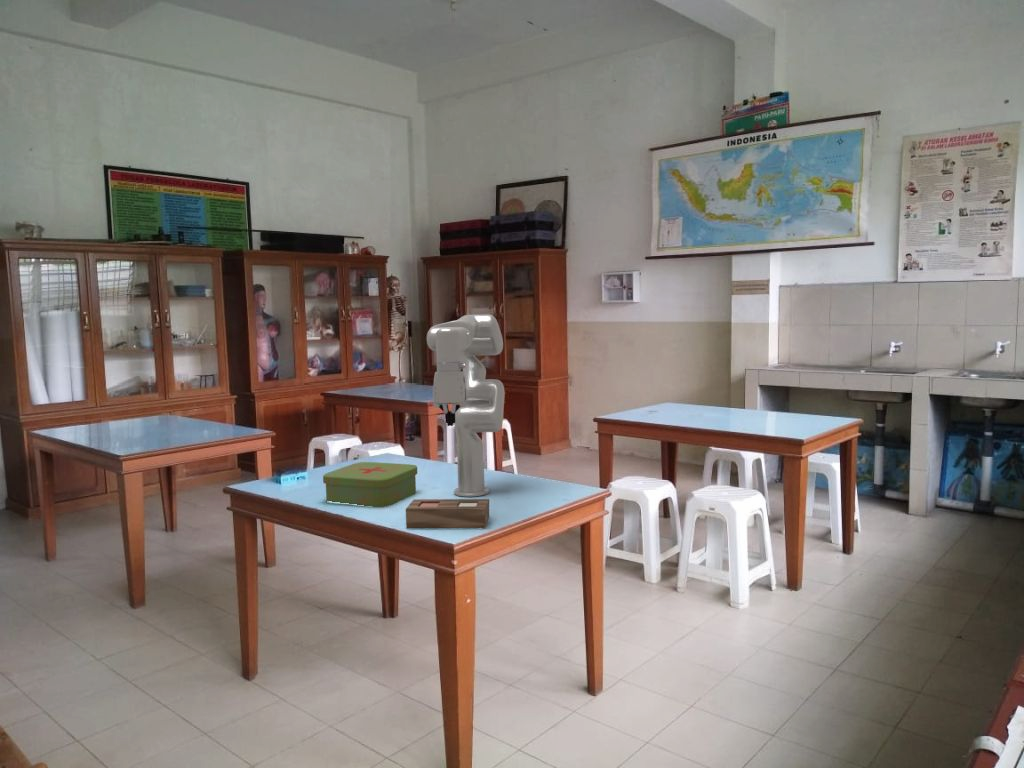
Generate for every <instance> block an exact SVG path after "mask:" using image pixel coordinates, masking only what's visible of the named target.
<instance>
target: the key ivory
mask: <svg viewBox="0 0 1024 768" xmlns="http://www.w3.org/2000/svg"><path fill="white" fill-rule="evenodd" d="M459 506H477V503H460V504H459Z"/></svg>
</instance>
